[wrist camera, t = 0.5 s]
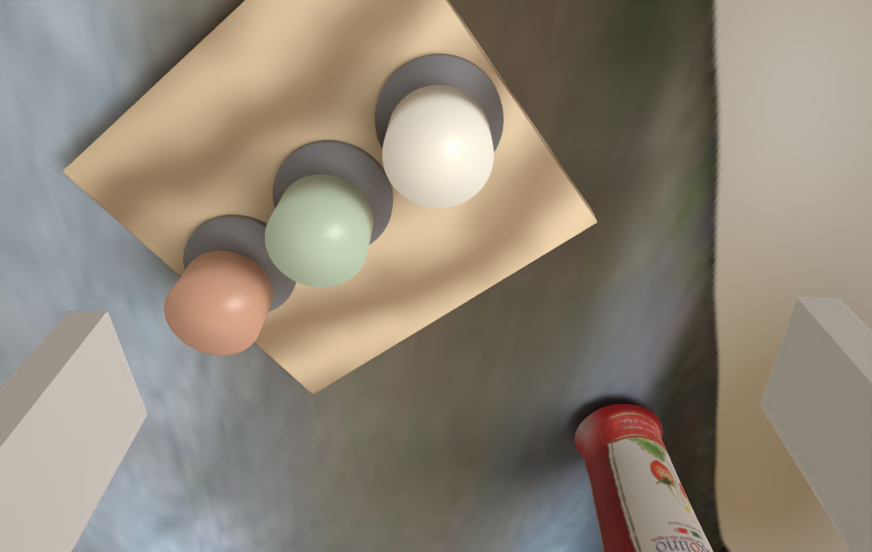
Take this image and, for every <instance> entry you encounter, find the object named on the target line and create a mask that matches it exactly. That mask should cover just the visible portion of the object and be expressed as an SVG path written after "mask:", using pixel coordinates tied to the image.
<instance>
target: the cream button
mask: <svg viewBox="0 0 872 552" xmlns="http://www.w3.org/2000/svg"><path fill="white" fill-rule="evenodd" d="M382 159H383V166H384V170H385V173H386V175H387V177H388V179H389V181H390V183H391V184H392V185H393V187H394V188H395V189H396V190H397V191H398V192H399V193H400V194H401V195H402V196H403V197H405V198H406V199H408V200H409V201H411V202H413V203H415V204H418V205H421V206H424V207H429V208H447V207H452V206H456V205H459V204H461V203H463V202H465V201H467V200H469V199H470V198H472V197H473V196H474V195H476V194H477V193H478V192H479V191H480V190H481V189H482V187H483V186H484V185H485V183H486V182H487V180H488V178H489V176H490V173H491V171H492V167H493V161H494V149H493V142H492V137H491V132H490V127H489V123H488V119H487V117H486V114H485V112H484V110H483V109H482V107H481V106H480V105H479V103H478V102H477V101H476V100H475V99H474V98H473V97H472V96H470V95H469V94H467V93H466V92H464V91H462V90H460V89H458V88H455V87H451V86H447V85H431V86H426V87H422V88H419V89H417V90H415V91H413V92H411V93H410V94H408V95H407V96H406V97H405V98H404V99H402V100H401V101H400V103H399V104H398V105H397V106H396V108H395V109H394V111H393V113H392V115H391V118H390V121H389V124H388V128H387V132H386V135H385V139H384V143H383V149H382Z"/></svg>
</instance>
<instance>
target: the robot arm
mask: <svg viewBox="0 0 872 552" xmlns="http://www.w3.org/2000/svg"><path fill="white" fill-rule="evenodd" d="M760 406H761V408H762V410H763V411H764V413H765V414H766V416H767V418H768V419H769V421H770V423H771V424H772V426H773V427H774V429H775V431H776V432H777V434H778V435H779V437H780V439H781V440H782V442H783V443H784V445H785V447H786V448H787V450H788V452H789V453H790V455H791V456H792V458H793V460H794V461H795V463H796V465H797V466H798V468H799V469H800V471H801V473H802V474H803V476H804V477H805V479H806V481H807V482H808V484H809V486H810V487H811V488H812V490H813V492H814V494H815V495H816V497H817V499H818V500H819V502H820V503H821V505H822V506H823V508H824V510H825V511H826V513H827V515H828V516H829V518H830V519H831V521H832V523H833V524H834V526H835V527H836V529H837V531H838V532H839V534H840V535H841V537H842V539H843V541H844V542H845V544H846V545H847V547H848V549H849V550H850V552H872V331H871V330H870V329H869V328H868V327H867V326H866V325H865V324H864V323H863V322H862V321H861V320H860V319H859V318H858V317H857V316H856V315H855V314H854V313H853V312H852V311H851V310H850V309H849V308H848V307H847V306H846V305H845V303H844V302H843V301H842V300H841V299H840V298H839V297H821V298H819V297H818V298H797V300H796V303H795V306H794V308H793V312H792V314H791V317H790V320H789V323H788V326H787V328H786V331H785V334H784V337H783V340H782V343H781V345H780V348H779V351H778V354H777V357H776V360H775V362H774V365H773V368H772V371H771V374H770V377H769V380H768V382H767V385H766V388H765V391H764V394H763V397H762V399H761V402H760ZM146 416H147V412H146V409H145V407H144V404H143V401H142V399H141V396H140V394H139V391H138V388H137V386H136V383H135V381H134V378H133V375H132V373H131V370H130V368H129V365H128V363H127V360H126V357H125V355H124V352H123V350H122V347H121V344H120V342H119V339H118V337H117V334H116V331H115V329H114V326H113V324H112V321H111V318H110V316H109V313H108V311H68V312H67V313H66V314H65V316H64V317H63V318H62V319H61V320H60V321H59V322H58V324H57V325H56V326H55V327H54V328H53V329H52V330H51V332H50V333H49V334H48V335H47V336H46V337H45V338H44V340H43V341H42V342H41V343H40V344H39V345H38V346H37V348H36V349H35V350H34V351H33V352H32V353H31V354H30V356H29V357H28V358H27V359H26V360H25V361H24V362H23V364H22V365H21V366H20V367H19V368H18V369H17V370H16V372H15V373H14V374H13V375H12V376H11V377H10V378H9V379H8V381H7V382H6V383H5V384H4V385H3V386H2V387H1V389H0V552H71V551H72V550H73V548H74V546H75V544H76V542H77V541H78V539H79V537H80V535H81V533H82V532H83V530H84V528H85V526H86V524H87V523H88V521H89V519H90V517H91V515H92V514H93V512H94V510H95V508H96V506H97V505H98V503H99V501H100V499H101V497H102V495H103V494H104V492H105V490H106V488H107V486H108V485H109V483H110V481H111V479H112V477H113V476H114V474H115V472H116V470H117V468H118V467H119V465H120V463H121V461H122V459H123V458H124V456H125V454H126V452H127V450H128V449H129V447H130V445H131V443H132V441H133V440H134V438H135V436H136V434H137V432H138V431H139V429H140V427H141V425H142V423H143V422H144V420H145V418H146Z"/></svg>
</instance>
